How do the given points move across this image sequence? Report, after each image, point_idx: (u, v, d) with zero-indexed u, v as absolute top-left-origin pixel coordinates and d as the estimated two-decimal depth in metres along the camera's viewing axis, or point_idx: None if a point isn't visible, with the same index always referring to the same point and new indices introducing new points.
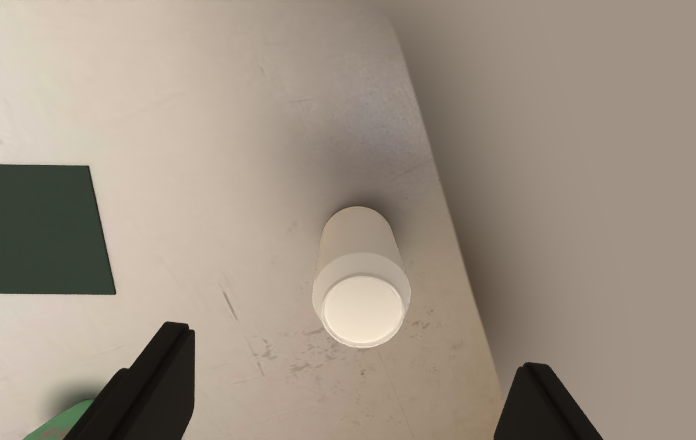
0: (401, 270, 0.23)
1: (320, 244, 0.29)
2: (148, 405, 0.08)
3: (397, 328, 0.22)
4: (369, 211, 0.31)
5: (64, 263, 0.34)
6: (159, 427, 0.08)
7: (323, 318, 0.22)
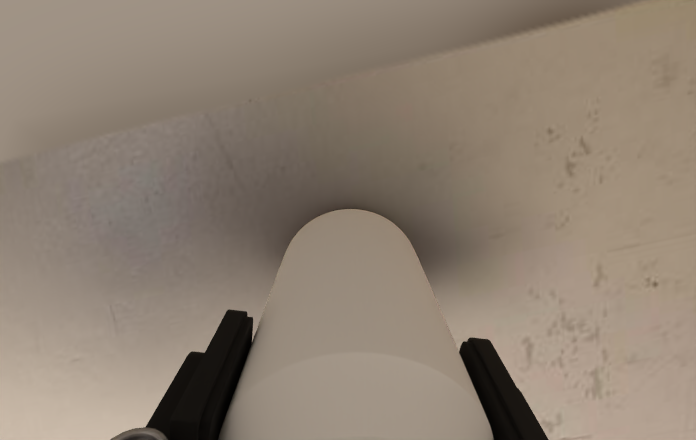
0: (278, 372, 0.08)
1: None
2: (228, 382, 0.09)
3: None
4: (284, 255, 0.16)
5: None
6: None
7: None
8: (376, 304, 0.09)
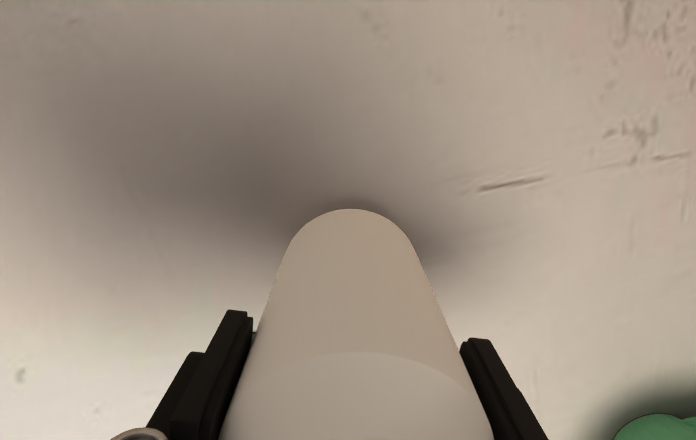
0: (278, 372, 0.08)
1: None
2: (227, 382, 0.09)
3: None
4: (284, 255, 0.16)
5: None
6: None
7: None
8: (377, 304, 0.09)
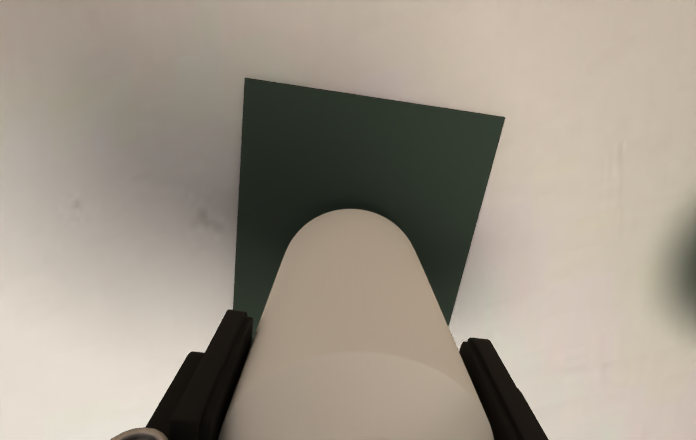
0: (278, 372, 0.08)
1: None
2: (227, 382, 0.09)
3: None
4: (284, 255, 0.16)
5: (421, 188, 0.19)
6: None
7: None
8: (376, 304, 0.09)
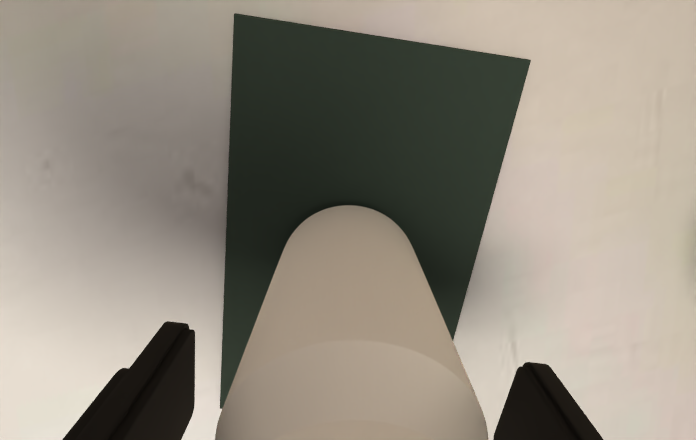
0: (275, 359, 0.08)
1: None
2: (148, 405, 0.08)
3: None
4: (283, 251, 0.16)
5: (434, 144, 0.16)
6: (159, 427, 0.08)
7: None
8: (372, 295, 0.09)
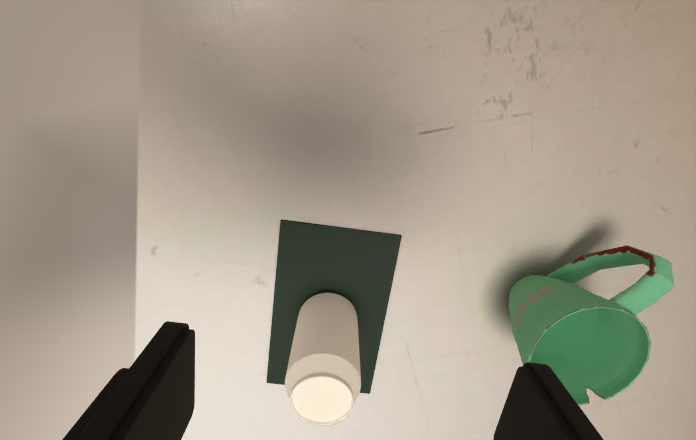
0: (302, 358, 0.30)
1: None
2: (148, 405, 0.08)
3: (338, 381, 0.28)
4: (299, 313, 0.38)
5: (364, 266, 0.39)
6: (159, 427, 0.08)
7: (323, 424, 0.30)
8: (329, 339, 0.31)
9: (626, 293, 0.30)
